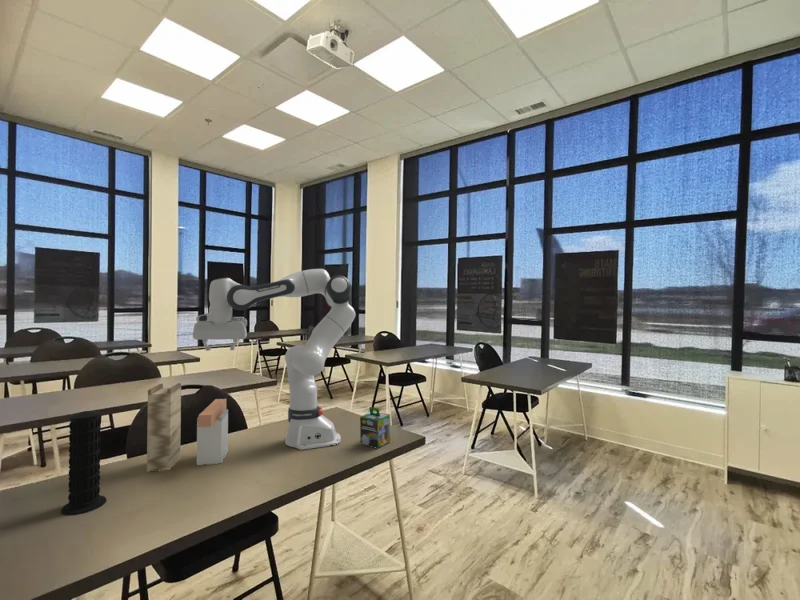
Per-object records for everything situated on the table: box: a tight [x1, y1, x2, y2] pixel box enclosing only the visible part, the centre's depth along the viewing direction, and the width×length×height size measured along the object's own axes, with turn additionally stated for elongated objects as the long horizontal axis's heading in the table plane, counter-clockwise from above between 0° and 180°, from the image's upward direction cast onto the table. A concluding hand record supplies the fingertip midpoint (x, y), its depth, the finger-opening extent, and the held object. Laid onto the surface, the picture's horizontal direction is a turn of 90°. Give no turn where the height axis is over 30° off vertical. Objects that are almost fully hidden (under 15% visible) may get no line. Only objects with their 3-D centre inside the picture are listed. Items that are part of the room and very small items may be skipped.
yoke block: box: [196, 408, 229, 466], centre depth 142 cm, size 8×10×16 cm
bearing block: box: [146, 382, 182, 472], centre depth 136 cm, size 7×10×28 cm
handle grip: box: [60, 410, 107, 516], centre depth 109 cm, size 10×26×10 cm
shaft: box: [197, 398, 227, 427], centre depth 142 cm, size 4×22×4 cm, turn 12°
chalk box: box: [359, 406, 391, 449], centre depth 159 cm, size 9×9×15 cm
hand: (220, 350), depth 161 cm, fingers open, 8 cm apart
